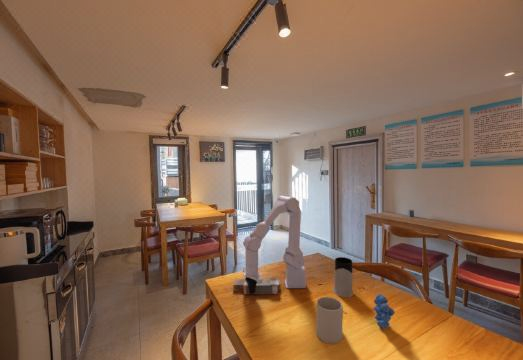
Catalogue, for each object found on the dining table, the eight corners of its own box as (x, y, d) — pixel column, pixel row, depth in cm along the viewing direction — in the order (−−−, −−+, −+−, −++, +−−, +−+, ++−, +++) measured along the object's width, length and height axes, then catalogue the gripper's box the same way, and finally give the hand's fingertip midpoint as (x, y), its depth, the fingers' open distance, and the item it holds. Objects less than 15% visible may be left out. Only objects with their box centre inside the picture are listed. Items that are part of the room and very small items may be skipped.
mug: (340, 347, 74) (340, 313, 74) (313, 338, 78) (313, 306, 77) (345, 325, 85) (345, 295, 84) (321, 318, 88) (322, 290, 88)
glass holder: (332, 295, 105) (332, 262, 105) (335, 281, 118) (335, 252, 118) (353, 298, 102) (353, 265, 101) (353, 284, 115) (353, 254, 115)
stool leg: (277, 290, 109) (277, 282, 108) (277, 294, 106) (277, 285, 105) (244, 291, 109) (244, 282, 108) (243, 294, 106) (243, 285, 105)
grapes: (401, 340, 77) (401, 304, 76) (379, 337, 78) (379, 302, 78) (389, 318, 88) (389, 287, 88) (370, 316, 90) (370, 285, 89)
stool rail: (279, 285, 115) (279, 275, 114) (281, 295, 105) (281, 284, 105) (234, 285, 115) (234, 275, 114) (232, 295, 105) (232, 284, 105)
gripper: (236, 259, 108) (237, 288, 108) (252, 271, 96) (252, 303, 96) (250, 256, 112) (250, 284, 112) (266, 267, 99) (266, 298, 100)
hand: (252, 293), depth 104 cm, fingers closed
